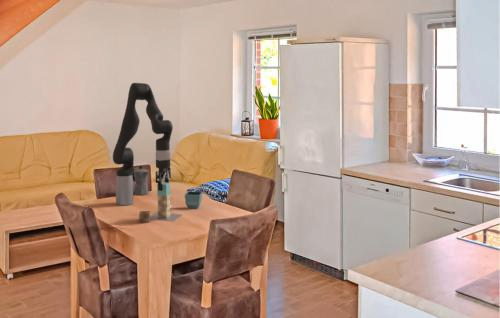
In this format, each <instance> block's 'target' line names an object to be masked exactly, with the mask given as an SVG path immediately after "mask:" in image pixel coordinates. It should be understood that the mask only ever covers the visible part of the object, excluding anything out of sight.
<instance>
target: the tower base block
mask: <svg viewBox="0 0 500 318" xmlns="http://www.w3.org/2000/svg"><path fill="white" fill-rule="evenodd" d="M157 213H158V218H168V217H170V214H171V204H170V205H169V206H168V207H158V206H157Z"/></svg>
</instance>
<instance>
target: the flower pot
mask: <svg viewBox="0 0 500 318" xmlns="http://www.w3.org/2000/svg"><path fill="white" fill-rule="evenodd" d="M184 199H185V205H186V207H187V209H188V210H198V209H200V206H201V204H202V201H203V200H202V199H203V192H202V191H187V192H185V194H184Z"/></svg>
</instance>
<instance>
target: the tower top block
mask: <svg viewBox="0 0 500 318" xmlns="http://www.w3.org/2000/svg"><path fill="white" fill-rule="evenodd" d="M170 195H171V193H170V194H169V195H167V196H159V195H157V208H158V207H168V206H169V205H170V206H171V201H170V200H171V199H170Z"/></svg>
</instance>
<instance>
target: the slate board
mask: <svg viewBox="0 0 500 318" xmlns="http://www.w3.org/2000/svg"><path fill="white" fill-rule="evenodd" d="M182 216H183V214H178V213H170V217H168V218H158V212H154V213H153V214H150V221H151V220H152V221H163V222H164V221H166V222H174V221H176V220H177V219H180V217H182Z"/></svg>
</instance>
